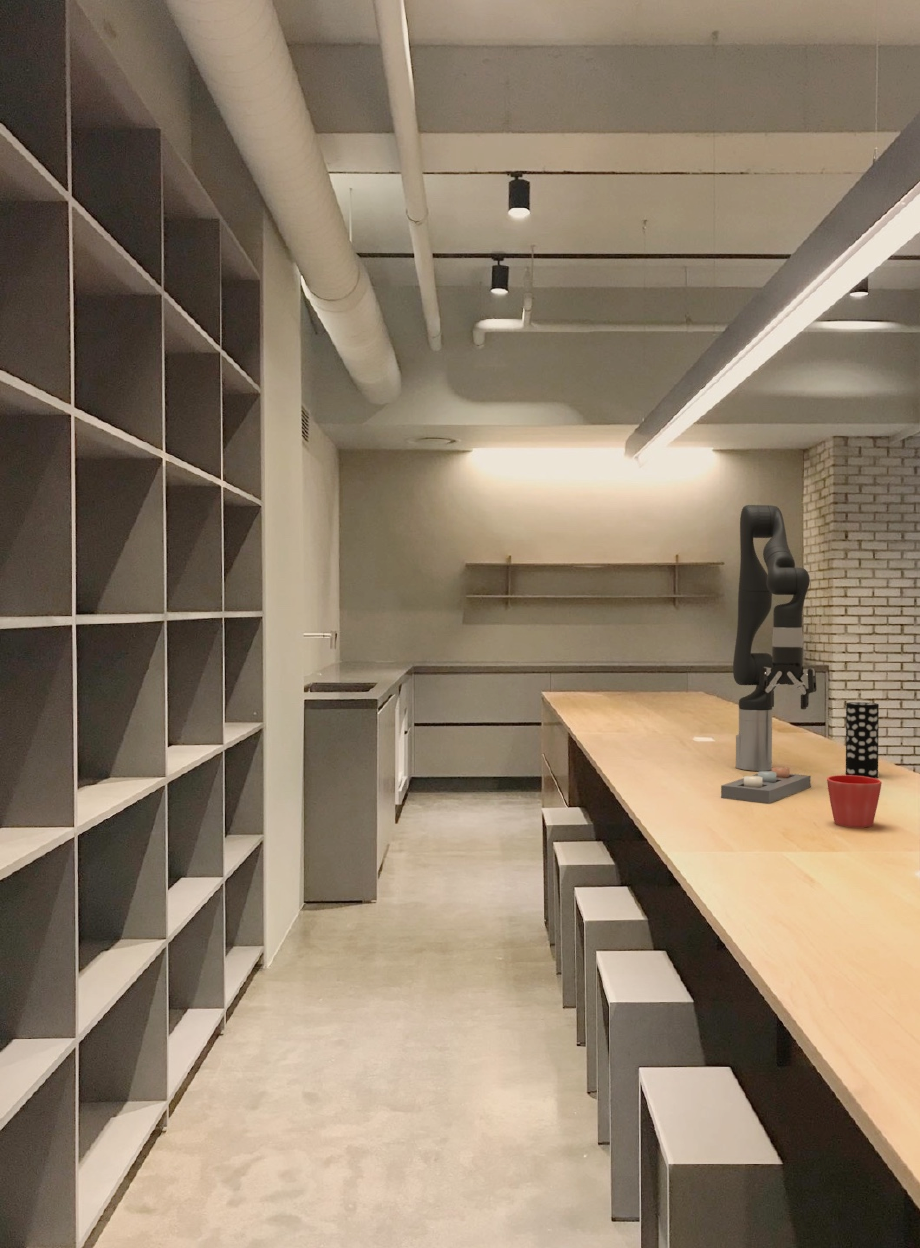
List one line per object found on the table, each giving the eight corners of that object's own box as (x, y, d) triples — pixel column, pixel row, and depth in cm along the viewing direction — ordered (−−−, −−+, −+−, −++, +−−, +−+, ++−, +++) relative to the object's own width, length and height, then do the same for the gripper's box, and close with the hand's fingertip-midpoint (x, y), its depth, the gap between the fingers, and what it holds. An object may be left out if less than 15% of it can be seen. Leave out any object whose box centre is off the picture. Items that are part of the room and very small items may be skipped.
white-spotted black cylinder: (845, 777, 280) (845, 704, 280) (846, 773, 288) (846, 701, 287) (878, 779, 277) (878, 705, 276) (878, 775, 284) (878, 702, 284)
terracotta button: (768, 779, 264) (769, 768, 264) (775, 777, 268) (775, 766, 268) (785, 781, 262) (785, 770, 261) (792, 779, 265) (792, 767, 265)
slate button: (755, 784, 257) (755, 772, 257) (762, 782, 261) (762, 770, 261) (772, 786, 254) (772, 774, 254) (778, 784, 258) (779, 772, 258)
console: (721, 797, 250) (721, 785, 250) (765, 782, 272) (765, 771, 272) (769, 803, 243) (769, 791, 243) (810, 787, 265) (810, 775, 265)
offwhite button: (740, 789, 250) (740, 777, 250) (747, 787, 254) (747, 775, 254) (758, 791, 247) (758, 779, 247) (765, 789, 251) (765, 777, 251)
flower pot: (882, 831, 213) (882, 784, 213) (826, 827, 217) (826, 781, 217) (880, 821, 223) (880, 776, 223) (826, 817, 227) (827, 773, 227)
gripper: (755, 645, 266) (754, 707, 266) (809, 646, 257) (809, 711, 257) (766, 644, 271) (766, 705, 272) (820, 645, 263) (820, 708, 263)
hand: (787, 708), depth 264 cm, fingers open, 8 cm apart
